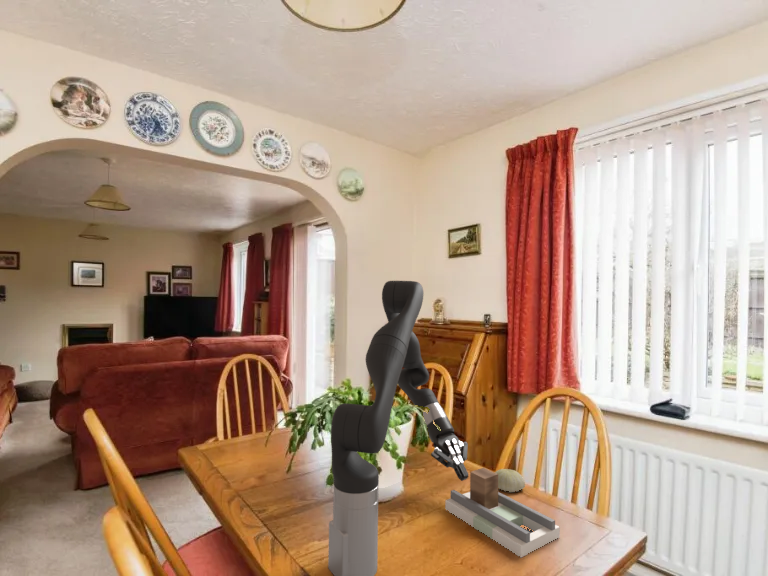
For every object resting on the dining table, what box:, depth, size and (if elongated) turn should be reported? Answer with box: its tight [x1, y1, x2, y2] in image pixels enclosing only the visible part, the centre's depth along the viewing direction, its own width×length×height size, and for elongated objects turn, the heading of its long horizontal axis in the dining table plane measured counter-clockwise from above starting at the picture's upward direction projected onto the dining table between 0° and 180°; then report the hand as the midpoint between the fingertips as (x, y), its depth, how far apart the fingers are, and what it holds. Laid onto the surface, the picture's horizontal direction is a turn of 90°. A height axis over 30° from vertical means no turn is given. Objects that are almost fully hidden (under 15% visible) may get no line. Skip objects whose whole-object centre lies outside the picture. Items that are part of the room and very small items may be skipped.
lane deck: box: [444, 489, 561, 558], centre depth 103 cm, size 14×24×4 cm, turn 34°
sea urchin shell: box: [494, 468, 526, 493], centre depth 123 cm, size 9×8×8 cm
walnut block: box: [469, 467, 499, 509], centre depth 107 cm, size 5×5×8 cm
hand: (465, 479), depth 113 cm, fingers closed
